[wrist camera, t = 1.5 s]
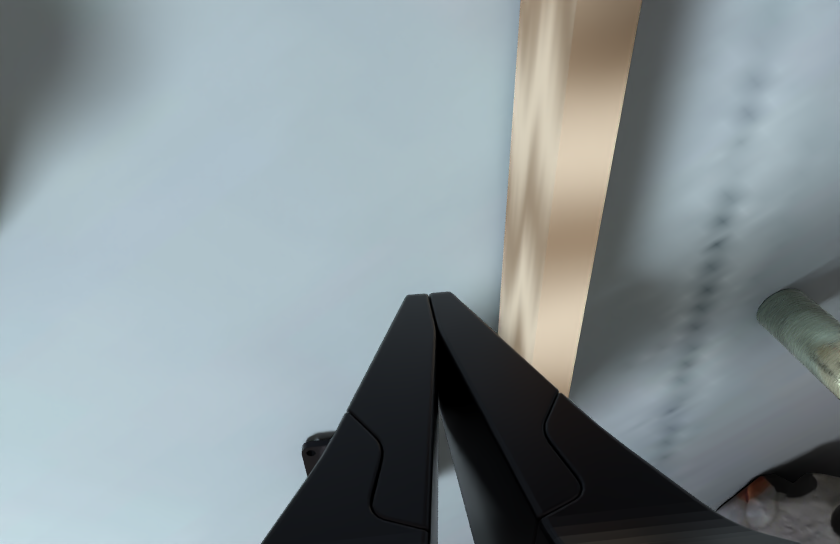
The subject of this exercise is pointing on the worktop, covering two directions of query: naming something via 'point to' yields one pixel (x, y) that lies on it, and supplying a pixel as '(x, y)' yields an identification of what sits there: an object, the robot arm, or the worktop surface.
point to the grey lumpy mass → (790, 508)
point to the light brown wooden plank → (560, 170)
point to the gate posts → (805, 334)
